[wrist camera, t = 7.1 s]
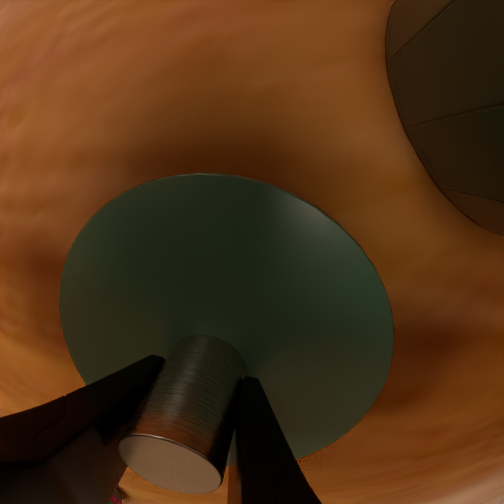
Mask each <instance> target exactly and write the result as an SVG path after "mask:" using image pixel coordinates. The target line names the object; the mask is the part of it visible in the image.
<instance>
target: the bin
mask: <svg viewBox="0 0 504 504" xmlns="http://www.w3.org/2000/svg"><path fill="white" fill-rule="evenodd" d="M386 60H387V67H388V74H389V79H390V83H391V87H392V92H393V96H394V99H395V102H396V105H397V108H398V111H399V114H400V117H401V120H402V122H403V124H404V127H405V129H406V131H407V134H408V136H409V139H410V140H411V142H412V144H413V146H414V148H415V150H416V152H417V154H418V156H419V158H420V160H421V161H422V163H423V164H424V166H425V167H426V169H427V171H428V172H429V174H430V176H431V177H432V178H433V180H434V181H435V182H436V184H437V185H438V186H439V188H440V189H441V190H442V192H443V193H444V194H445V195H446V196H447V197H448V198H449V199H450V200H451V201H452V203H453V204H454V205H455V206H456V207H457V208H459V209H460V210H461V211H462V212H463V213H464V214H466V215H467V216H468V217H469V218H471V219H472V220H474V221H475V222H477V223H478V224H479V225H480V226H481V227H483V228H485V229H487V230H490V231H492V232H495V233H497V234H499V235H502V236H504V0H396V1H395V2H394V4H393V5H392V9H391V13H390V16H389V20H388V23H387V32H386Z"/></svg>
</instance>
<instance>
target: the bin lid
mask: <svg viewBox="0 0 504 504" xmlns="http://www.w3.org/2000/svg"><path fill="white" fill-rule="evenodd" d="M59 310H60V320H61V326H62V330H63V335H64V339H65V342H66V345H67V348H68V350H69V353H70V356H71V358H72V360H73V362H74V364H75V366H76V368H77V370H78V372H79V374H80V375H81V377H82V378H83V380H84V382H85V383H86V385H89V384H91V383H93V382H95V381H97V380H99V379H101V378H104V377H106V376H108V375H110V374H112V373H114V372H116V371H118V370H120V369H122V368H124V367H127V366H129V365H131V364H133V363H135V362H137V361H139V360H141V359H143V358H145V357H147V356H149V355H151V354H154V355H158V356H162V357H164V358H165V362H164V364H163V366H162V368H161V369H160V371H159V373H158V374H157V376H156V378H155V379H154V381H153V383H152V384H151V386H150V388H149V389H148V391H147V393H146V395H145V396H144V398H143V400H142V401H141V403H140V405H139V406H138V408H137V410H136V412H135V413H134V415H133V417H132V418H131V420H130V422H129V424H128V425H127V427H126V429H125V430H124V432H123V434H122V436H121V437H120V439H119V441H118V452H119V455H120V457H121V458H122V460H123V461H124V462H125V464H126V465H127V466H128V467H129V468H130V469H131V470H133V471H134V472H135V473H136V474H138V475H139V476H141V477H142V478H144V479H146V480H147V481H149V482H151V483H153V484H155V485H158V486H160V487H163V488H166V489H169V490H172V491H176V492H181V493H189V494H202V493H208V492H211V491H214V490H216V489H217V488H218V487H219V486H220V485H221V484H222V481H223V477H224V473H225V468H226V466H230V450H231V441H232V437H233V432H234V428H235V422H236V415H237V409H238V404H239V399H240V394H241V390H242V385H243V381H244V377H245V376H250V377H256V378H258V379H259V380H260V382H261V385H262V387H263V389H264V391H265V394H266V396H267V398H268V400H269V403H270V405H271V407H272V409H273V412H274V414H275V416H276V418H277V420H278V422H279V425H280V427H281V429H282V431H283V433H284V435H285V438H286V440H287V442H288V444H289V446H290V448H291V450H292V452H293V455H294V457H295V459H297V458H301V457H304V456H306V455H309V454H311V453H313V452H316V451H318V450H320V449H322V448H324V447H326V446H327V445H329V444H331V443H333V442H334V441H336V440H337V439H339V438H340V437H341V436H343V435H344V434H346V433H347V432H348V431H349V430H350V429H352V428H353V427H354V426H355V425H356V424H357V423H358V422H359V421H360V420H361V419H362V418H363V417H364V415H365V414H366V413H367V412H368V411H369V409H370V408H371V407H372V405H373V404H374V402H375V400H376V399H377V397H378V395H379V394H380V392H381V390H382V388H383V386H384V383H385V381H386V378H387V376H388V373H389V369H390V365H391V360H392V356H393V347H394V326H393V317H392V310H391V307H390V303H389V300H388V296H387V293H386V290H385V287H384V285H383V283H382V281H381V279H380V277H379V275H378V273H377V271H376V269H375V267H374V265H373V264H372V262H371V261H370V259H369V258H368V257H367V255H366V254H365V252H364V251H363V249H362V248H361V247H360V245H359V244H358V243H357V242H356V241H355V240H354V239H353V238H352V237H351V235H350V234H349V233H348V232H347V231H346V230H345V229H344V228H343V227H342V226H341V225H340V224H339V223H338V222H337V221H335V220H334V219H333V218H332V217H330V216H329V215H328V214H326V213H325V212H324V211H322V210H321V209H320V208H318V207H317V206H316V205H314V204H312V203H311V202H309V201H307V200H305V199H304V198H302V197H300V196H298V195H296V194H294V193H293V192H291V191H289V190H286V189H283V188H281V187H278V186H276V185H273V184H270V183H268V182H265V181H262V180H258V179H253V178H249V177H244V176H240V175H235V174H224V173H209V172H203V173H190V174H179V175H172V176H168V177H164V178H160V179H156V180H152V181H148V182H146V183H143V184H141V185H139V186H136V187H134V188H132V189H129V190H127V191H125V192H123V193H122V194H120V195H119V196H117V197H116V198H114V199H113V200H111V201H110V202H108V203H107V204H105V205H104V206H103V207H102V208H101V209H100V210H99V211H98V212H97V213H96V214H94V215H93V216H92V217H91V218H90V220H89V221H88V222H87V223H86V225H85V226H84V227H83V229H82V230H81V231H80V233H79V234H78V236H77V237H76V239H75V241H74V243H73V245H72V247H71V249H70V250H69V253H68V256H67V259H66V261H65V264H64V267H63V271H62V277H61V282H60V291H59Z"/></svg>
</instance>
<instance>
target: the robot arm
mask: <svg viewBox="0 0 504 504" xmlns="http://www.w3.org/2000/svg"><path fill="white" fill-rule="evenodd" d="M164 362H165V358H164V357H162V356H158V355H154V354H151V355H149V356H147V357H145V358H143V359H141V360H139V361H137V362H135V363H133V364H131V365H129V366H127V367H124V368H122V369H120V370H118V371H116V372H114V373H112V374H110V375H108V376H106V377H104V378H101V379H99V380H97V381H95V382H93V383H91V384H89V385H86V386H84V387H82V388H80V389H78V390H75V391H73V392H71V393H69V394H67V395H66V397H65V396H62V397H60V398H57V399H55V400H53V401H50V402H48V403H45V404H43V405H40V406H37V407H34V408H31V409H28V410H25V411H22V412H18V413H15V414H11V415H8V416H4V417H0V504H108V503H109V501H110V499H111V497H112V495H113V493H114V491H115V489H116V487H117V485H118V483H119V481H120V479H121V478H122V476H123V474H124V472H125V470H126V468H127V465H126V464H125V462H124V461H123V460H122V458H121V457H120V455H119V452H118V441H119V439H120V437H121V436H122V434H123V432H124V430H125V429H126V427H127V425H128V424H129V422H130V420H131V418H132V417H133V415H134V413H135V412H136V410H137V408H138V406H139V405H140V403H141V401H142V400H143V398H144V396H145V395H146V393H147V391H148V389H149V388H150V386H151V384H152V383H153V381H154V379H155V378H156V376H157V374H158V373H159V371H160V369H161V368H162V366H163V364H164ZM227 504H322V503H321V502H320V500H319V499H318V497H317V496H316V494H315V493H314V491H313V490H312V488H311V487H310V485H309V484H308V482H307V480H306V478H305V476H304V475H303V473H302V471H301V469H300V467H299V465H298V463H297V461H296V460H295V457H294V455H293V452H292V450H291V448H290V446H289V444H288V442H287V440H286V438H285V435H284V433H283V431H282V429H281V427H280V425H279V422H278V420H277V418H276V416H275V414H274V412H273V409H272V407H271V405H270V403H269V400H268V398H267V396H266V394H265V391H264V389H263V387H262V385H261V382H260V380H259V379H258V378H256V377H250V376H245V377H244V381H243V385H242V390H241V394H240V399H239V404H238V409H237V415H236V422H235V428H234V432H233V437H232V441H231V450H230V466H229V482H228V498H227Z"/></svg>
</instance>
